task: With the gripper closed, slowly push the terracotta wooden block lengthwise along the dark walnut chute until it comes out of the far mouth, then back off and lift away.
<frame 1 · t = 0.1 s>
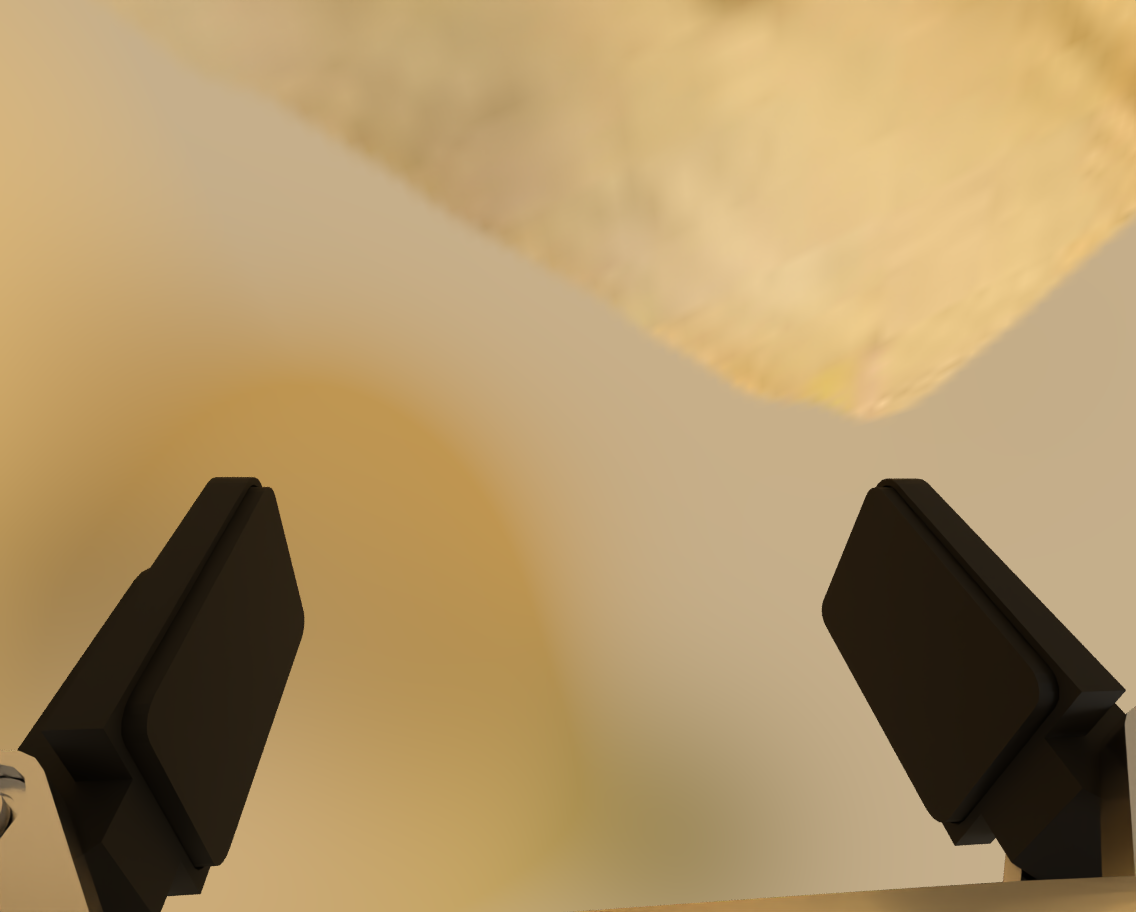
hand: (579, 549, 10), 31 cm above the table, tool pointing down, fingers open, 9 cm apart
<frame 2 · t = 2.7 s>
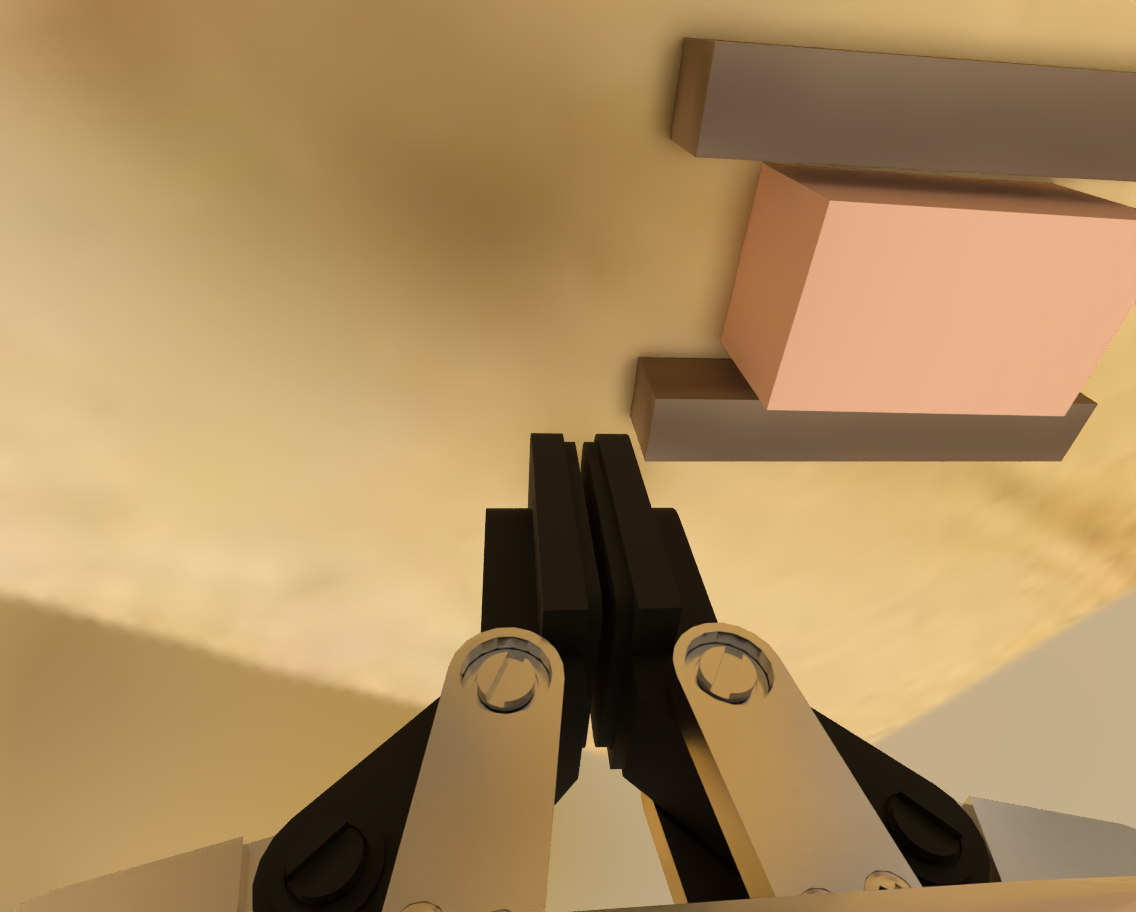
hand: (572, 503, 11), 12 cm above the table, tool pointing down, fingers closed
block: (875, 265, 22), on the table
chute: (879, 267, 21), on the table
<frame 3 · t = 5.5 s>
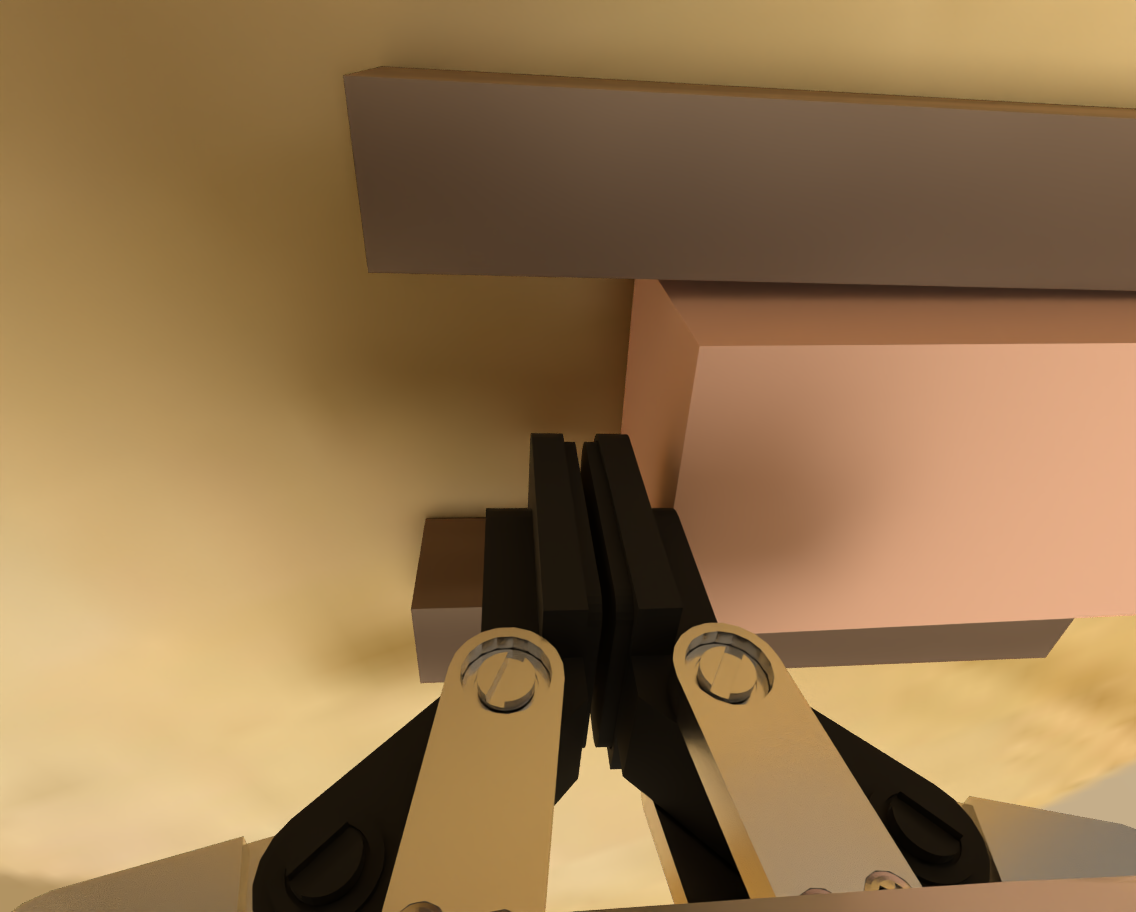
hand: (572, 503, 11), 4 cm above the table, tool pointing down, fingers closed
block: (832, 374, 15), on the table
chute: (762, 394, 15), on the table
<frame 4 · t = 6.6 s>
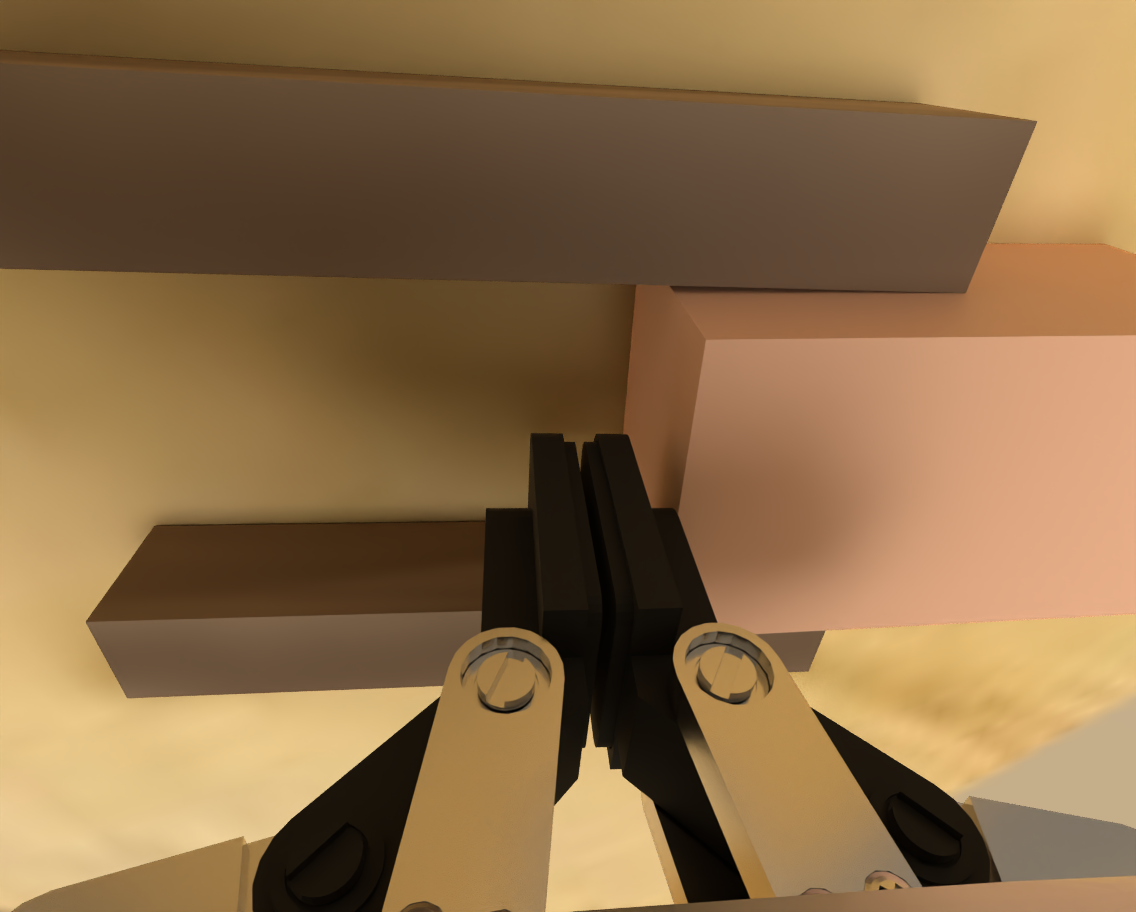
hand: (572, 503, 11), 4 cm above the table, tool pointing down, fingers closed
block: (837, 372, 15), on the table
chute: (484, 396, 14), on the table
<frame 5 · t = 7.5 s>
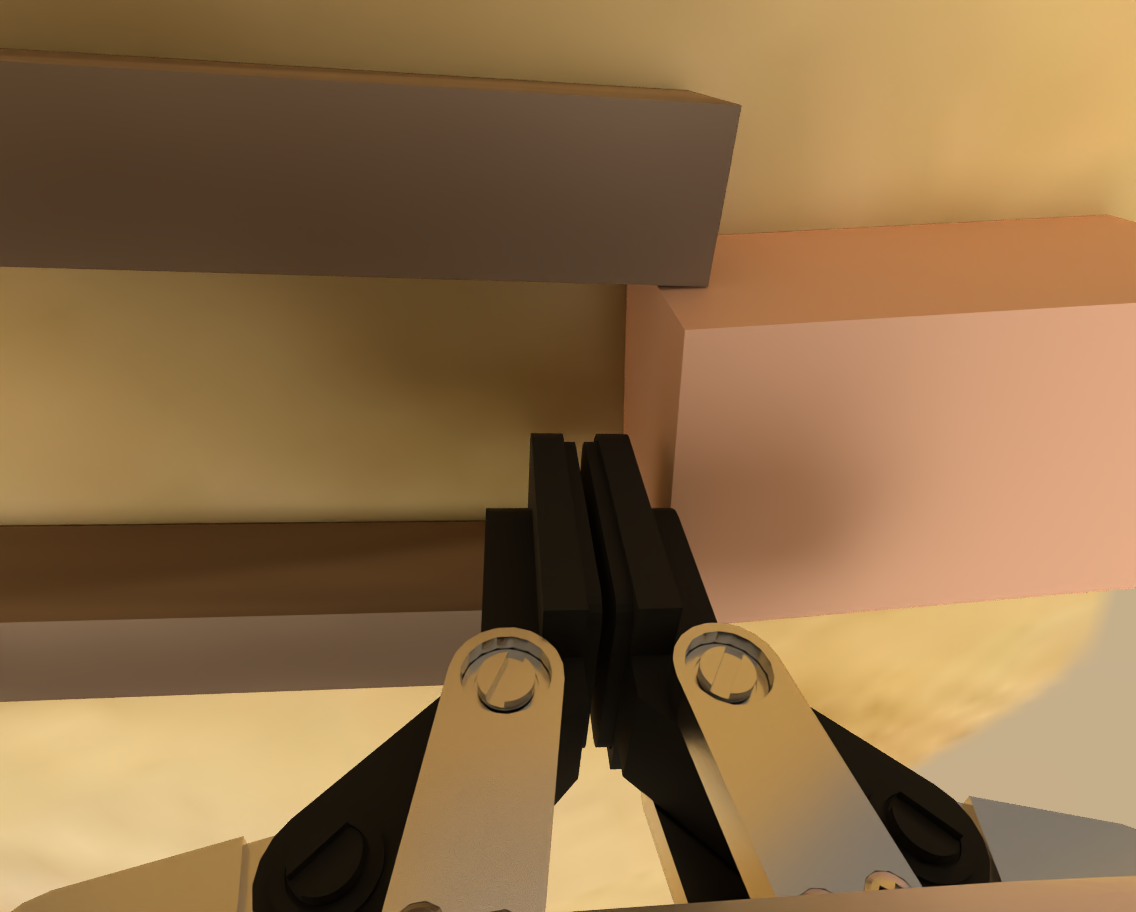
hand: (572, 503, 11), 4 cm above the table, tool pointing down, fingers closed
block: (834, 356, 15), on the table
chute: (280, 394, 13), on the table
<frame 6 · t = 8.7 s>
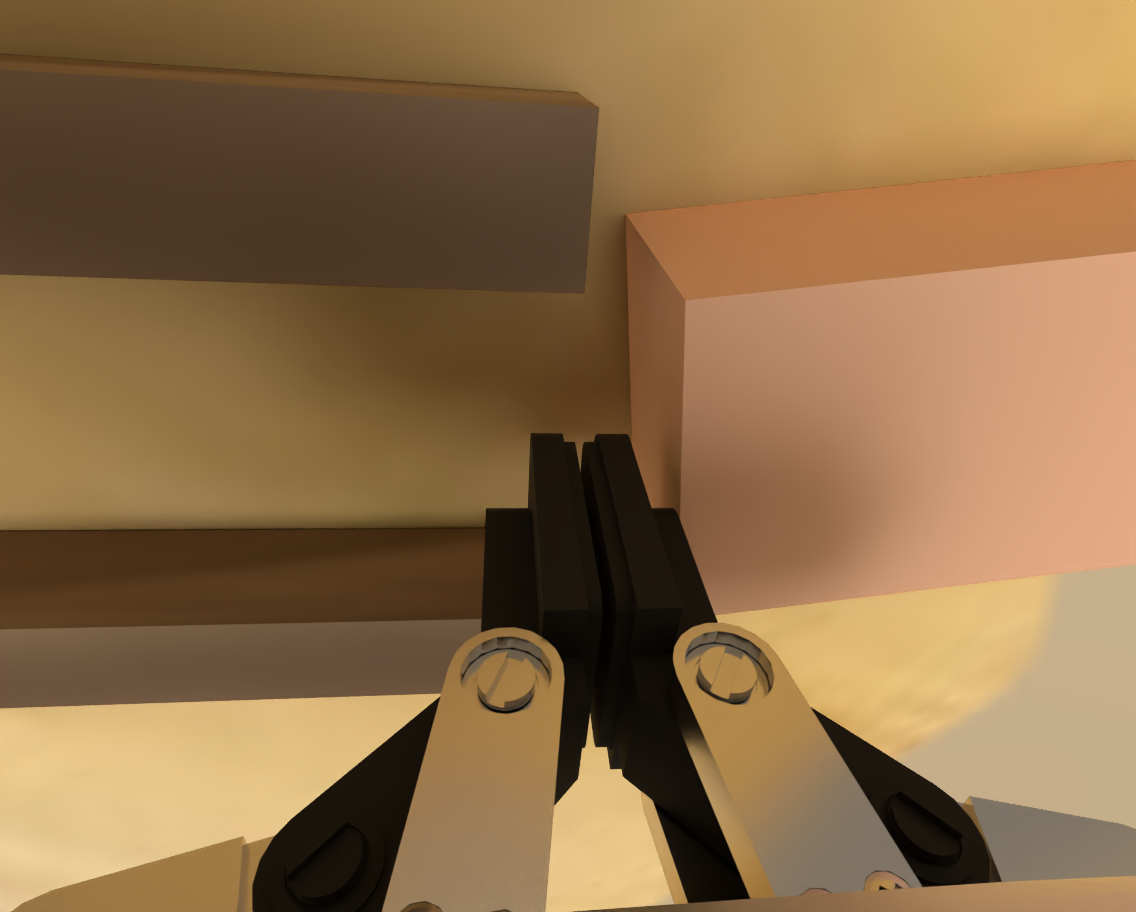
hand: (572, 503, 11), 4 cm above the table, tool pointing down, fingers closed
block: (850, 328, 14), on the table
chute: (182, 399, 13), on the table
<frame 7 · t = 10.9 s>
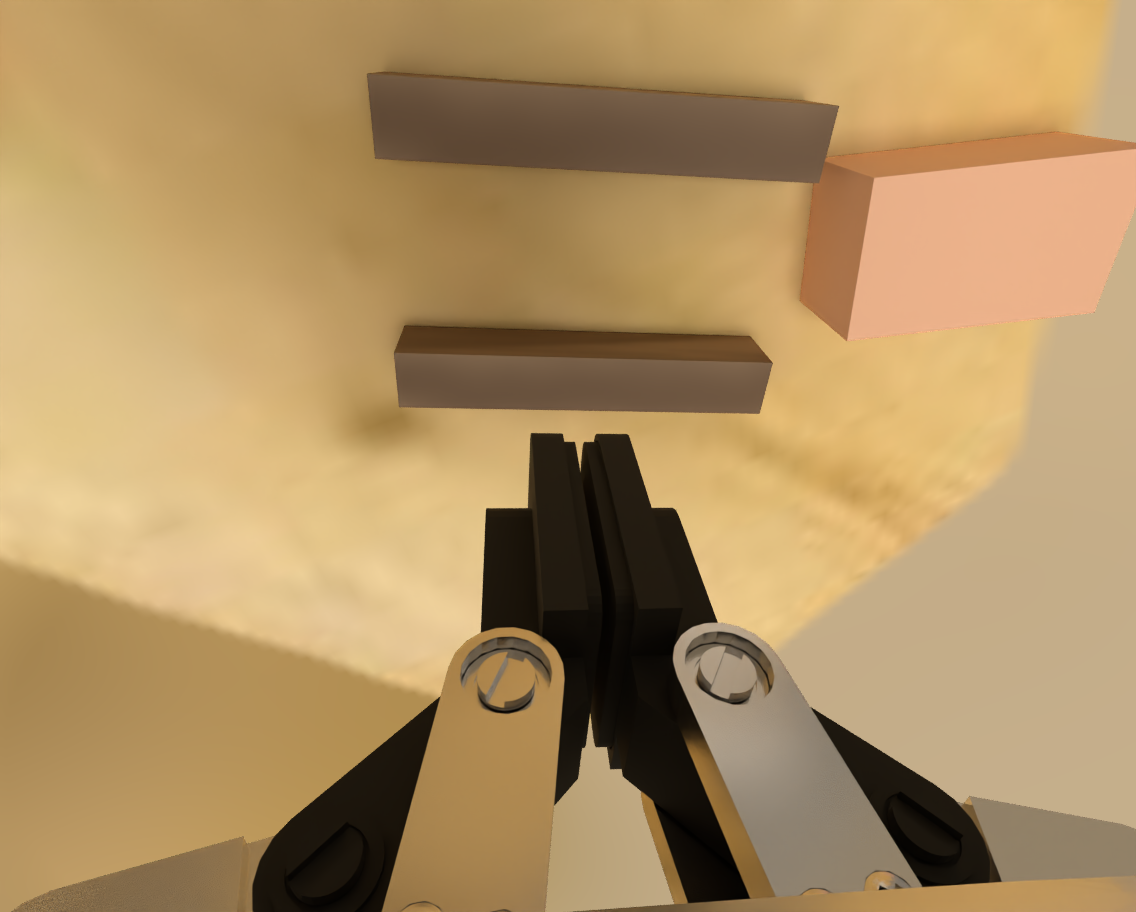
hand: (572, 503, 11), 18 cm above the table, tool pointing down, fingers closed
block: (918, 220, 27), on the table
chute: (588, 251, 27), on the table
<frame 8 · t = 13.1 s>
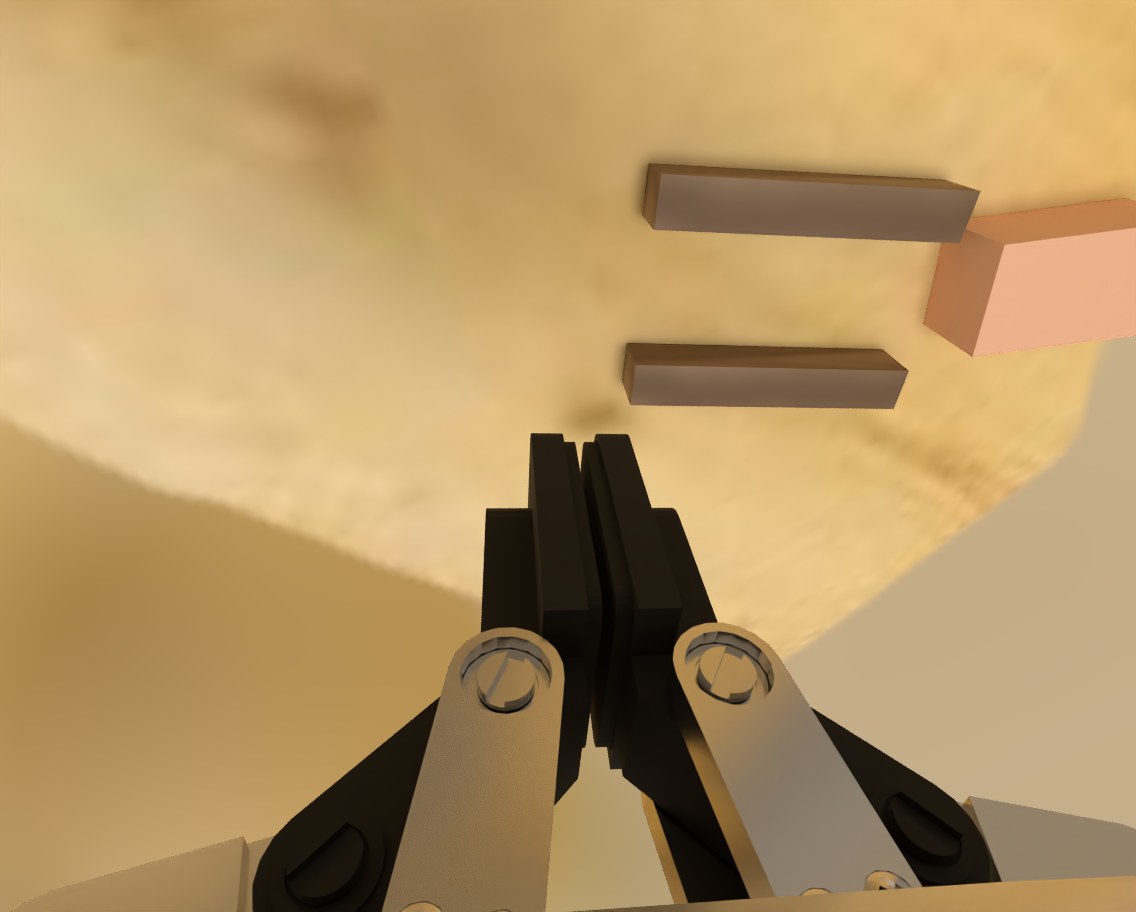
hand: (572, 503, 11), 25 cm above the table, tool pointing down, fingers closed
block: (1017, 262, 36), on the table
chute: (772, 287, 35), on the table
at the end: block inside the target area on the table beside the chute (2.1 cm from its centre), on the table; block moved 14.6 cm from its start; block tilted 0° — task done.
